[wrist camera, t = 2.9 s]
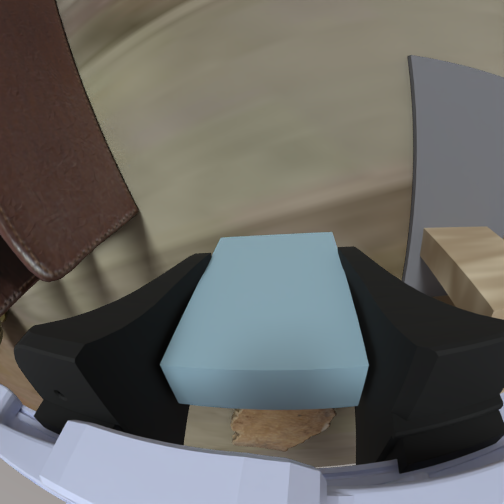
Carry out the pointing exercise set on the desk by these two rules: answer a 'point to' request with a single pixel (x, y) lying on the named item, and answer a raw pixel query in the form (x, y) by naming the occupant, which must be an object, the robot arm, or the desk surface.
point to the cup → (3, 319)
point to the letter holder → (49, 156)
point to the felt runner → (453, 157)
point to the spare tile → (269, 329)
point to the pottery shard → (278, 427)
